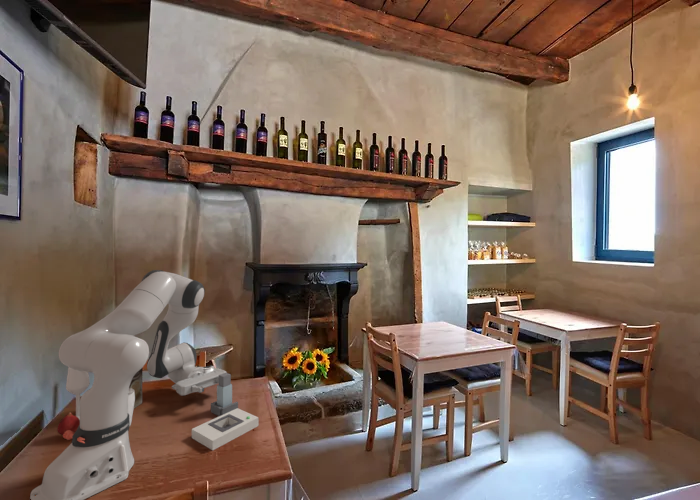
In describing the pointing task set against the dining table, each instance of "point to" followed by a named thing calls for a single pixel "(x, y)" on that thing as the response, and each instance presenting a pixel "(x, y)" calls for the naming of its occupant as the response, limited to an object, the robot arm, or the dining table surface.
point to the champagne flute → (77, 385)
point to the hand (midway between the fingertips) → (213, 386)
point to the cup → (131, 403)
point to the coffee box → (137, 387)
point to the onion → (68, 424)
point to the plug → (224, 390)
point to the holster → (219, 410)
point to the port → (224, 428)
